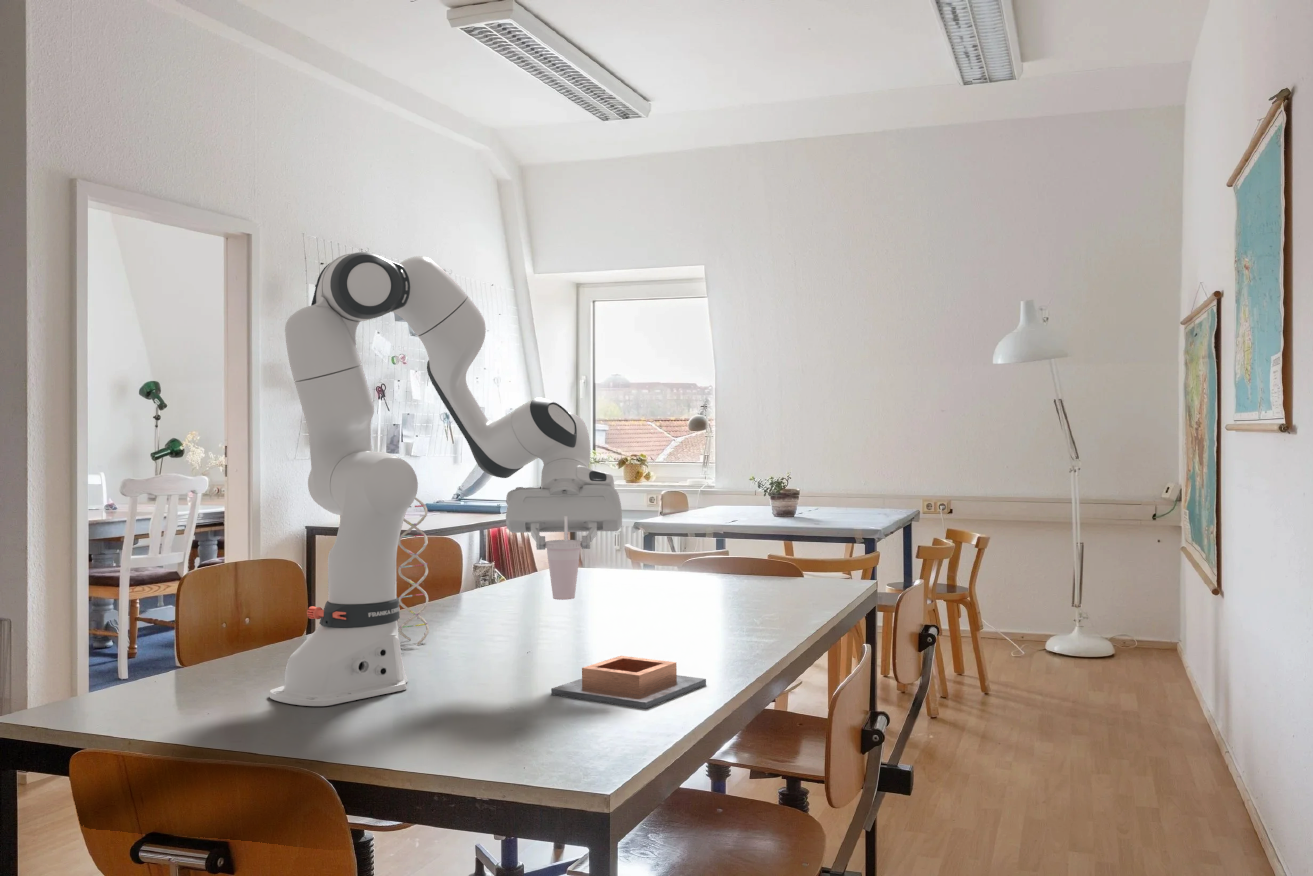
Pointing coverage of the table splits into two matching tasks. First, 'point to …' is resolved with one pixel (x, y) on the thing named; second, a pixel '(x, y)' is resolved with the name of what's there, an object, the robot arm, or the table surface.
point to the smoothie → (563, 565)
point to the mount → (629, 682)
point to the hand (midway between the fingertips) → (563, 547)
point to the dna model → (410, 580)
